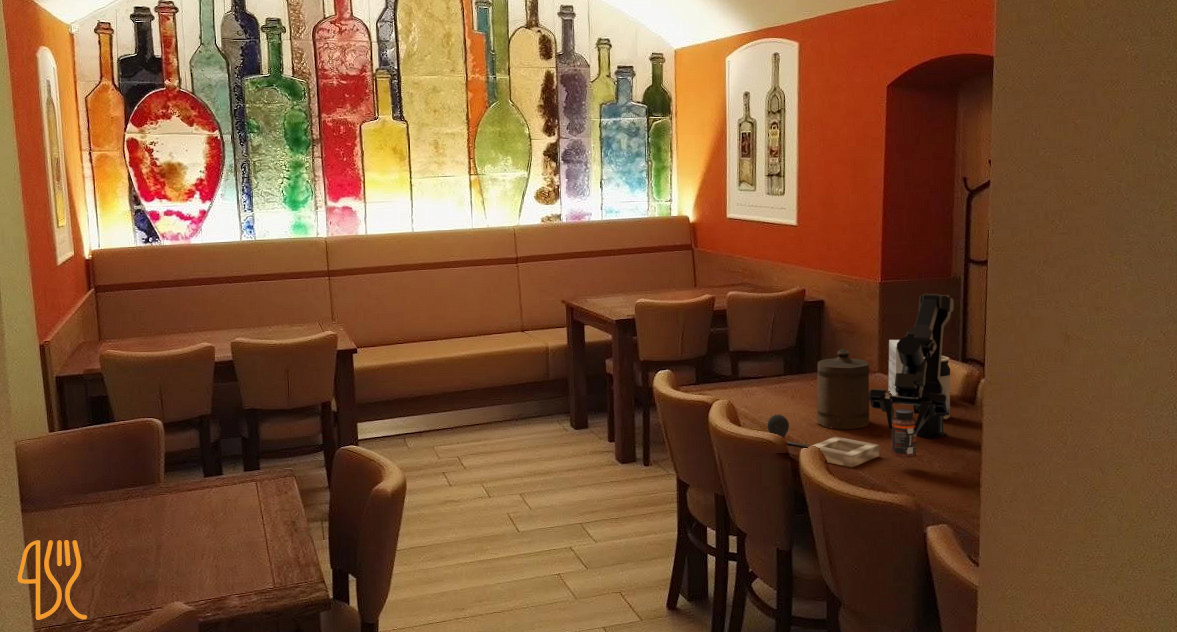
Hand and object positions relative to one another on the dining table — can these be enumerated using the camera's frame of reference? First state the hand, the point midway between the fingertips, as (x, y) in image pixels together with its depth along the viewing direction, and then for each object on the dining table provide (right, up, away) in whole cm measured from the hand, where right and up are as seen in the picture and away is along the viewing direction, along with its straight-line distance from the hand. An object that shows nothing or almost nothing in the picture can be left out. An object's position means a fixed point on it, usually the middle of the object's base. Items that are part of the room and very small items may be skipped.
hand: (902, 430), depth 252 cm
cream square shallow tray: (-11, -9, +14) cm, 20 cm away
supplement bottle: (+1, -7, +2) cm, 7 cm away
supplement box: (+28, +2, +79) cm, 84 cm away
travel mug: (+25, -2, +51) cm, 57 cm away
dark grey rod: (-19, -7, +24) cm, 32 cm away
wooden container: (-3, -4, +48) cm, 48 cm away
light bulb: (-27, -8, +21) cm, 35 cm away
